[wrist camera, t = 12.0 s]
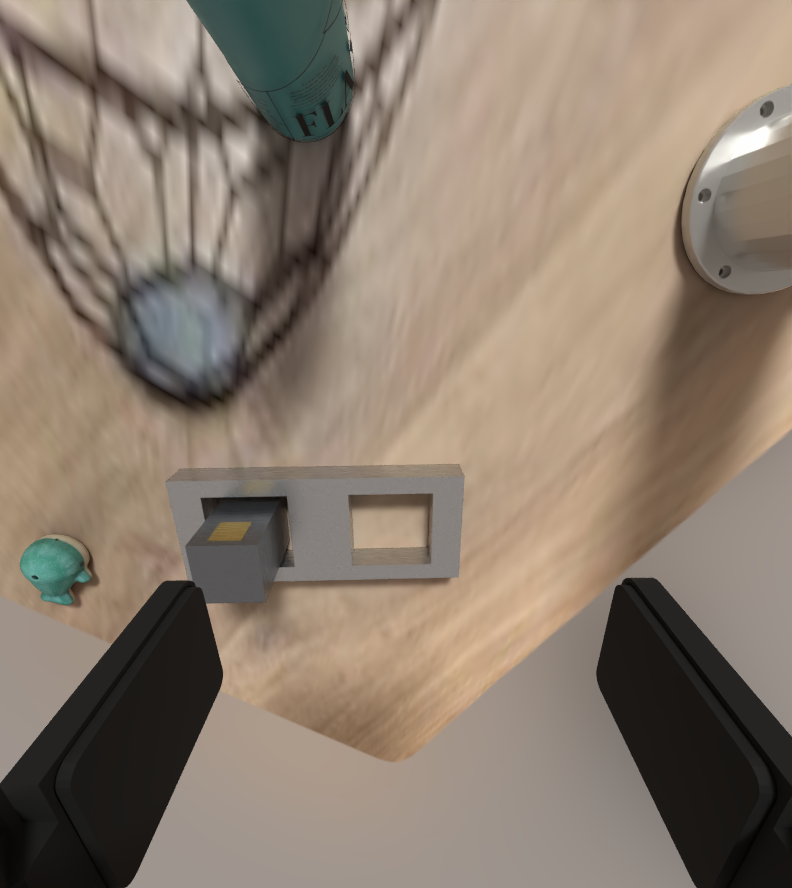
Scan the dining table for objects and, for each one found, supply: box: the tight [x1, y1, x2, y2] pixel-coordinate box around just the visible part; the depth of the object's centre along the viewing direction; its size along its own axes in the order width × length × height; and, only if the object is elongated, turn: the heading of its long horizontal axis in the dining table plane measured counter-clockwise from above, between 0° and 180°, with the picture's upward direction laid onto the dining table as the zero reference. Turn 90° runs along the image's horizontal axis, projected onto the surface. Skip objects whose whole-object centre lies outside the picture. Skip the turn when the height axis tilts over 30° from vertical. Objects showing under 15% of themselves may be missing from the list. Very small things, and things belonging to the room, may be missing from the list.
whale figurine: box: [20, 534, 92, 605], centre depth 36 cm, size 6×7×4 cm
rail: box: [165, 464, 464, 582], centre depth 35 cm, size 24×10×2 cm, turn 90°
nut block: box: [185, 496, 290, 603], centre depth 33 cm, size 5×5×8 cm
